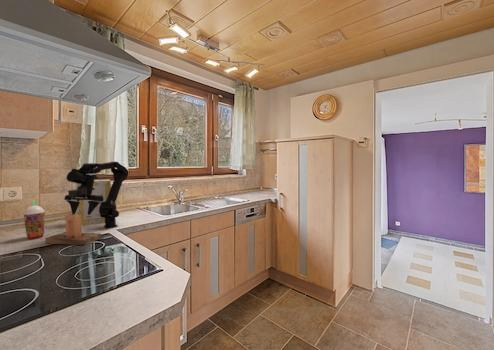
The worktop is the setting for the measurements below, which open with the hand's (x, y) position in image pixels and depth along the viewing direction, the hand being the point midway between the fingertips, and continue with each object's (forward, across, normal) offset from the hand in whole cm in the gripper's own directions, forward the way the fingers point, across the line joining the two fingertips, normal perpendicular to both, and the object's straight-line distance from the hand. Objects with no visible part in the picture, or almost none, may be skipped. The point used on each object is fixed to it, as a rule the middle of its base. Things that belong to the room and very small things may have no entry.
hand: (81, 214), depth 119 cm
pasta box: (+4, -18, +31) cm, 36 cm away
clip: (+13, 0, -1) cm, 13 cm away
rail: (+13, 0, -1) cm, 13 cm away
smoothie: (+13, -25, +1) cm, 28 cm away
